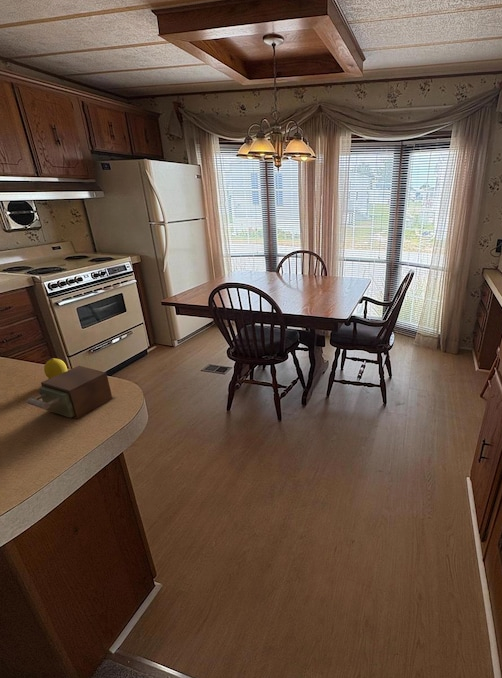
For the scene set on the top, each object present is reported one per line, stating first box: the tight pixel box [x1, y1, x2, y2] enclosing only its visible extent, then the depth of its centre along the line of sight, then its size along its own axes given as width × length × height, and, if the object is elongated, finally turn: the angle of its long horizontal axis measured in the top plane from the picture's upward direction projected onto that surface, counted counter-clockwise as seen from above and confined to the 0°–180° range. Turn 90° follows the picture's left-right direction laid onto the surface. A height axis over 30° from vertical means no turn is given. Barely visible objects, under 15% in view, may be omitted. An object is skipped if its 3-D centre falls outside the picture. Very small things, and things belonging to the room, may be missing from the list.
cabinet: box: [40, 365, 113, 419], centre depth 95 cm, size 11×11×9 cm
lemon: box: [43, 357, 68, 379], centre depth 106 cm, size 6×6×8 cm
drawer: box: [26, 385, 75, 418], centre depth 92 cm, size 14×9×7 cm
